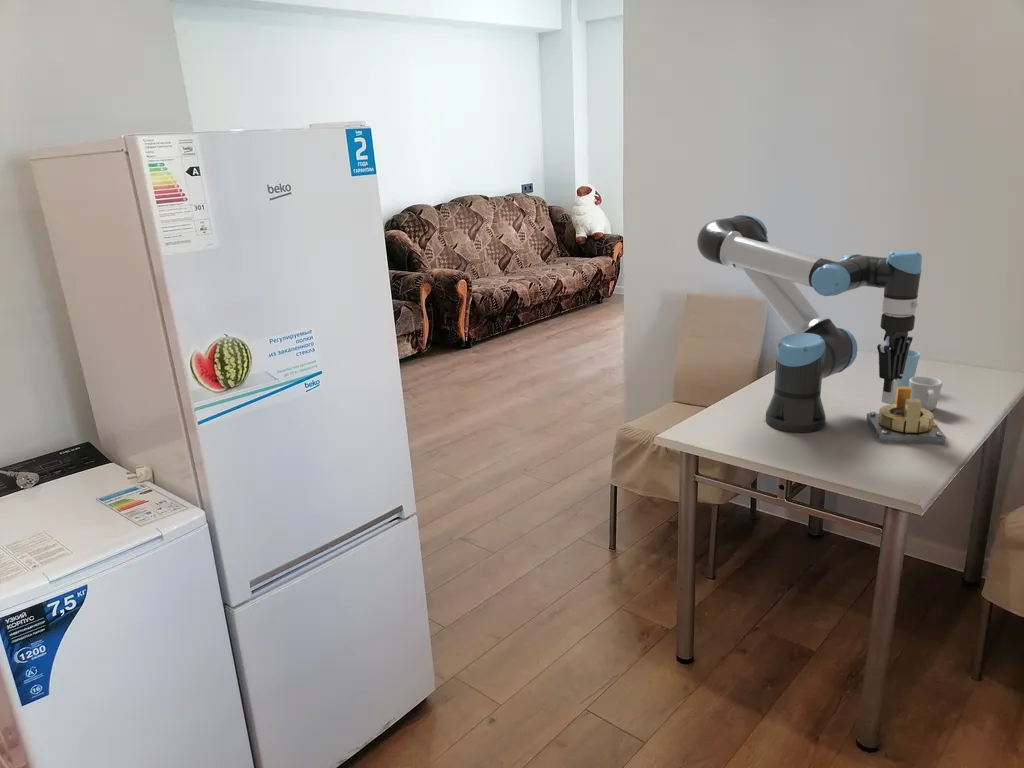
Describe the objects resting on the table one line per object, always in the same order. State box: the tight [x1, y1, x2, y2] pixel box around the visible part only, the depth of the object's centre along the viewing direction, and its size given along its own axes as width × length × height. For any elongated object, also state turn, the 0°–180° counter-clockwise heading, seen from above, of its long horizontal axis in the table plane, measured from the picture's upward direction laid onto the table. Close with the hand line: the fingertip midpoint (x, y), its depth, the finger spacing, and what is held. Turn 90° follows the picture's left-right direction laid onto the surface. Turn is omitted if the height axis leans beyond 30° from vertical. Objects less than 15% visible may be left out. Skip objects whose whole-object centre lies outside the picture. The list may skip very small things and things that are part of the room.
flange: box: [865, 410, 947, 446], centre depth 194 cm, size 15×15×5 cm
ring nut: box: [878, 386, 935, 433], centre depth 193 cm, size 12×12×8 cm
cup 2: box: [909, 375, 943, 411], centre depth 207 cm, size 11×8×8 cm
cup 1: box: [897, 349, 921, 386], centre depth 225 cm, size 8×8×10 cm
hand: (888, 402), depth 196 cm, fingers closed
